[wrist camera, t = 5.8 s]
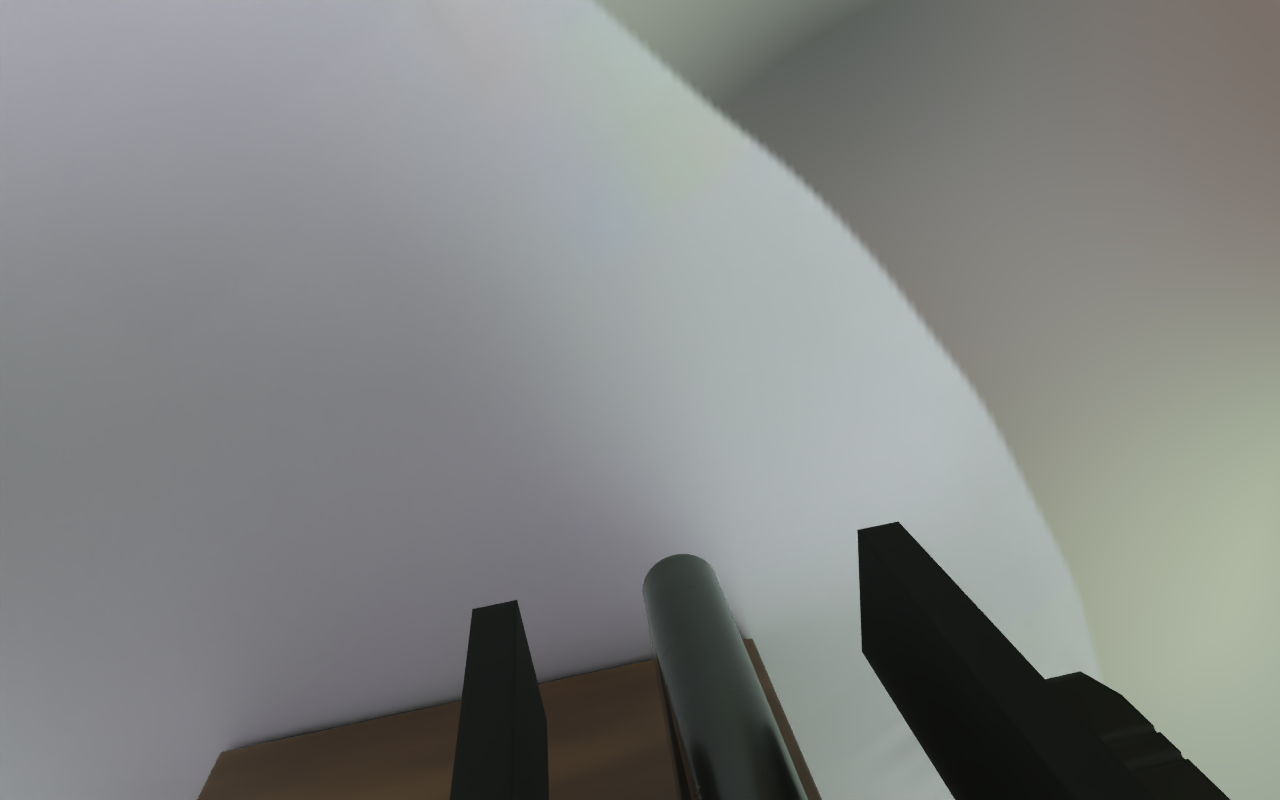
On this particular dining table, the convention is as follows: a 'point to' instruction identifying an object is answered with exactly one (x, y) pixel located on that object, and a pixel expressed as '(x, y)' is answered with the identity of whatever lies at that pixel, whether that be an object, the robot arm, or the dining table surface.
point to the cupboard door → (578, 725)
